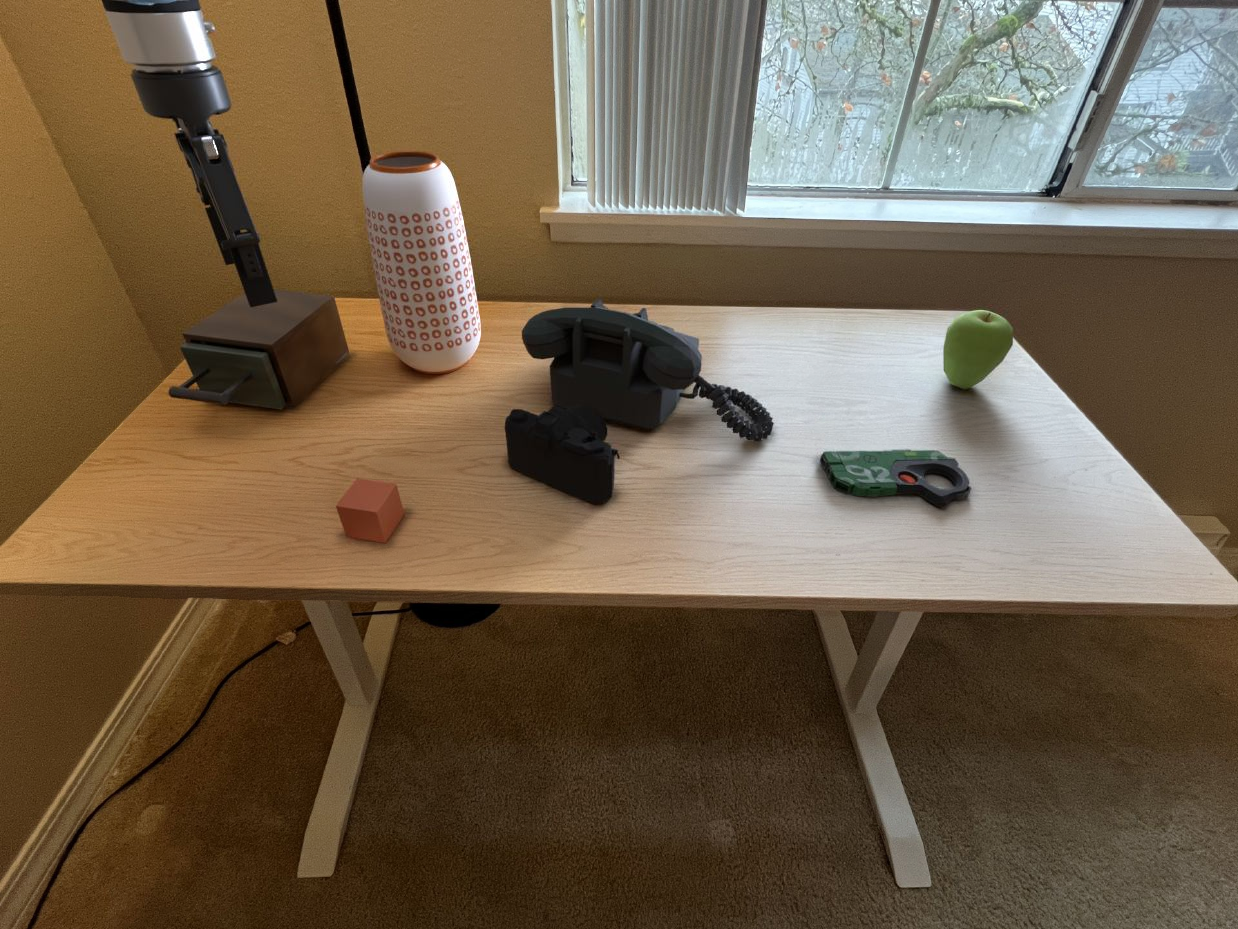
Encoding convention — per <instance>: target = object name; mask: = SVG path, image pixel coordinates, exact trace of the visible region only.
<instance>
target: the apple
mask: <svg viewBox="0 0 1238 929" xmlns="http://www.w3.org/2000/svg"><path fill="white" fill-rule="evenodd" d="M1013 330H1014V328H1013V327H1012V326H1011V324H1010V322H1009V320H1007V319H1006V318H1005V317H1003V316H1001V315H999V314H998V313H995V312H992V311H990V310H983V309H978V310H977V309H976V310H971V311H968V312H964V313H962V314H959V315H957V316H956V317H955V318H954V320H953V321H951V323H950V324H949V325H948V326H947V327H946V331H945V337H944V342H943V350H942V351H943V352H942V358H943V359H942V360H943V363H942V364H943V372H944V374H945V376H946V378H947V380H948V382H949V383H950V384H951V385H952V386H954V387H957V388H959V389H963V390H967V389H970V388H972V387H974V386H976V385H977V384H979V383H982V382H983V381H984V380H985V379H986V378H987V377H988V376H989V375H990V374H991V373H992V372H993V371H995V370H996V369H997V367H998V366H1000V364H1002V363H1003V361H1004V360H1005V359H1006V356H1007V355H1008V353H1009V352H1010V350H1011V349H1012V347H1013V345H1014V331H1013Z"/></svg>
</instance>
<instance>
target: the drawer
mask: <svg viewBox="0 0 1238 929" xmlns="http://www.w3.org/2000/svg"><path fill="white" fill-rule="evenodd" d="M200 343H201V344H195V343H187V342H186V341H185V342H184V343H183V344H181V345H180V346H179V348H180V352H181V353H182V355H183V358H184V359H185V362H186V364H187V366H188V368H189V370H190V372H191V374H192V376H190V377H189V378H188V379H187V380H185V381H184V382H183V383H181V384H180V385H178V386H177V385H176V386H175V385H172V386H170V387H169V389H168V393H167V394H168V396H169V397H170V398H173V399H179V400H186V401H192V402H193V401H194V402H201V403H207V404H215V405H221V406H225V405H227V404H228V403H232V404H241V405H246V406H247V405H248V406H252V407H253V406H254V407H260V408H267V409H268V408H269V409H276V410H282V409H283V408H285V407H284V406H285V405H286V403H285V400H284V398H283V396H285V394H284V392H283V389H282V386H281V383H280V381H279V378H278V375H277V372H276V370H275V367H274V364H273V361H272V359H271V356H270V353H269V350H267V349H259V348H252V347H244V346H236V345H228V344H220V343H212V342H205V341H200ZM195 384H196V385H197V389H196V388H190V387H192V386H193V385H195Z"/></svg>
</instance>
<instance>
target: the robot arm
mask: <svg viewBox="0 0 1238 929" xmlns="http://www.w3.org/2000/svg"><path fill="white" fill-rule="evenodd" d="M101 3H102V5H103V9H104V13H105V16H106V17H107V20H108V23H109V25H110V28H111V31H112V33H113V35H114V36H113V37H114V38H115V40H116V43H117V46H118V48H119V52H120V54H121V57H122V60H123V61H125V63H127V64H128V65H133V67H134V69H132V70H131V73H130V78H131V80H132V82H133V85H134V88H135V90H136V93H137V95H138V98H139V100H140V103H141V107H142V108H143V110H144V112H145V113H146V114H147V115H149V116H151V117H154V118H158V119H167V120H172V122H174V124H175V127H176V131H177V132H174V133H173V135H174V138H175V141H176V143H177V146H178V148H179V151H180V152H181V153H182V154H183V155H182V156H183V158H184V160H185V162H186V165H187V167H188V168H189V169H190V171H191V175H192V178H193V181H194V184H195V190H196V193H198V194H199V196H200V200H201V202H202V203H203V205H204V206H205V207H204V210H205V213H206V215H207V218H208V221H209V224H210V226H211V229H212V232H213V234H214V238H215V240H216V242H217V245H218V248H219V251H220V253H221V256H222V259H223V261H224V264H225V266H229V265H234V266H235V269H236V272H237V275H238V278H239V281H240V283H241V287H242V289H243V292H244V293H245V294H246V297H247V300H248V303H249V305H250V307H256V306H260V305H265V304H269V303H274V302H278V301H277V298H276V295H275V292H274V289H275V288H274V287H273V283H272V281H271V277H270V274H269V272H268V268H267V265H266V261H265V259H264V256H263V253H262V250H261V246H260V243H261V236H260V234H259V233H258V232H257V229H256V227H255V223H254V222H253V219H252V216H251V213H250V211H249V208H248V206H247V203H246V200H245V198H244V195H243V192H242V190H241V187H240V184H239V181H238V179H237V177H236V172H235V168H234V166H233V163H232V161H231V159H230V155H229V150H228V144H227V142H226V141H227V140H226V139H225V136H224V135H223V133H220V131H219V129H218V128H213V125H212V123H211V121H210V118H211V117H212V116H215V115H216V116H220V115H224V114H226V113H227V112H229V111H230V110H231V109H232V101H231V98H230V95H229V91H228V88H227V85H226V81H225V78H224V76H223V73H222V70H221V69H219V67H218V66H216V65H214V64H213V65H212V62H214V61H215V59H216V58H217V55H216V51H215V49H214V46H213V42H212V39H211V38H210V37H208V36H209V35H211V34H215V32H216V28H215V25H214V23H212V21H210V20H204V14H203V11H202V7H201V4H200V0H101ZM206 206H207V207H206Z"/></svg>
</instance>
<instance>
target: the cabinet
mask: <svg viewBox="0 0 1238 929" xmlns="http://www.w3.org/2000/svg"><path fill="white" fill-rule="evenodd" d="M273 289H274V292H275V295H276V298H277V301H278V302H274V303H269V304H265V305H260V306H256V307H250V305H249V303H248V300H247V297H246V294H245V292H244V293H242V294H241V295H239V296H237V297H236V298H234V299H233V300H231V301H230V302H228V303H227V304H225V305H223V306H222V307H221V308H219V309H217V310H216V311H214V312H213V313H211V314H209V315H208V316H207V317H205V318H204V319H202V320H200V321H198V323H196V324H194V325H193V326H191V327H189V328H188V329H187V330H185V331H183V332H182V333H181V335H182V337H183V339H184V341H185V343H186V342H187V343H195V344H201V343H200V341H205V342H212V343H220V344H228V345H236V346H244V347H252V348H259V349H267V350H269V353H270V356H271V359H272V361H273V364H274V367H275V370H276V372H277V375H278V378H279V381H280V383H281V386H282V389H283V392H284V394H285V396H283V398H284V400H285V403H286V405H285V406H284V407H283V408H287V409H296V408H297V407H298V406H299V405H300V404H301V403H302V402H304V400H305V399H306V398H308V397H309V396H310V395H311V394H312V393H313V392H314V391H315V390H316V388H317V389H318V387H319V386H320V385H321V384H322V383H323V382H324V381H326V379H327V378H328V377H329V376H331V375H332V374H333V372H335V371H336V370H337V369H338V368H339V367H340V366H341V365H342V364H343V363H344V362H345V361H346V360H347V359H348V358H350V356H351V353H350V349H349V346H348V342H347V340H346V339H347V338H346V335H345V332H344V328H343V324H342V321H341V317H340V313H339V309H338V306H337V302H336V297H335V295H327V294H321V293H320V294H319V293H311V292H302V291H293V290H286V289H285V290H284V289H275V288H273Z"/></svg>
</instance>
